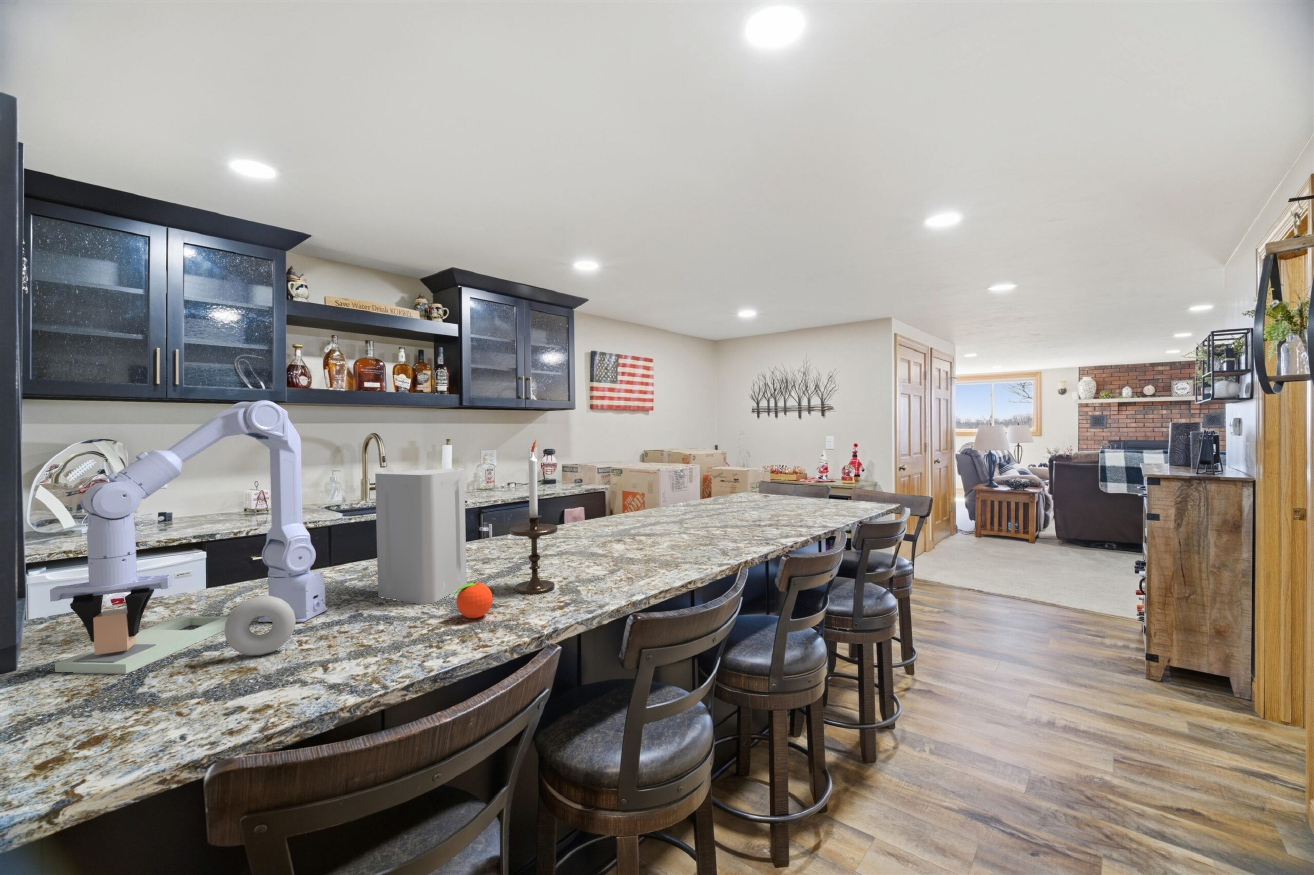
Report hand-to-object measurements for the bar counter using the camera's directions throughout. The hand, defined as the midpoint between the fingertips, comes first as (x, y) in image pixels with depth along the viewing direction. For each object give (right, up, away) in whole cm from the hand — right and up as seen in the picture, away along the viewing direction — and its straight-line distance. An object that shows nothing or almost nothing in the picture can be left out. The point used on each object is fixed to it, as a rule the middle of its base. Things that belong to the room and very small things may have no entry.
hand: (115, 637), depth 93 cm
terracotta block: (0, -2, 0) cm, 2 cm away
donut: (+22, -4, +3) cm, 23 cm away
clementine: (+52, -3, +20) cm, 56 cm away
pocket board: (0, -4, +7) cm, 8 cm away
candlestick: (+61, -3, +39) cm, 72 cm away
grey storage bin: (+36, -3, +36) cm, 51 cm away
